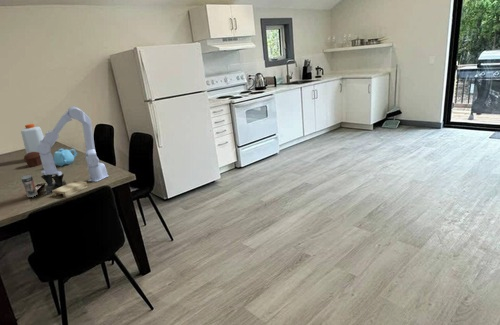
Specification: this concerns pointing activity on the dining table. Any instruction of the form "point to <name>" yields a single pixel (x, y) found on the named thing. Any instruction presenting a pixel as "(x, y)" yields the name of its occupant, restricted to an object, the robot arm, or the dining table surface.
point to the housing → (52, 187)
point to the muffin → (33, 159)
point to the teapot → (64, 157)
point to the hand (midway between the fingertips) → (55, 186)
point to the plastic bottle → (32, 137)
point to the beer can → (29, 186)
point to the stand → (70, 188)
